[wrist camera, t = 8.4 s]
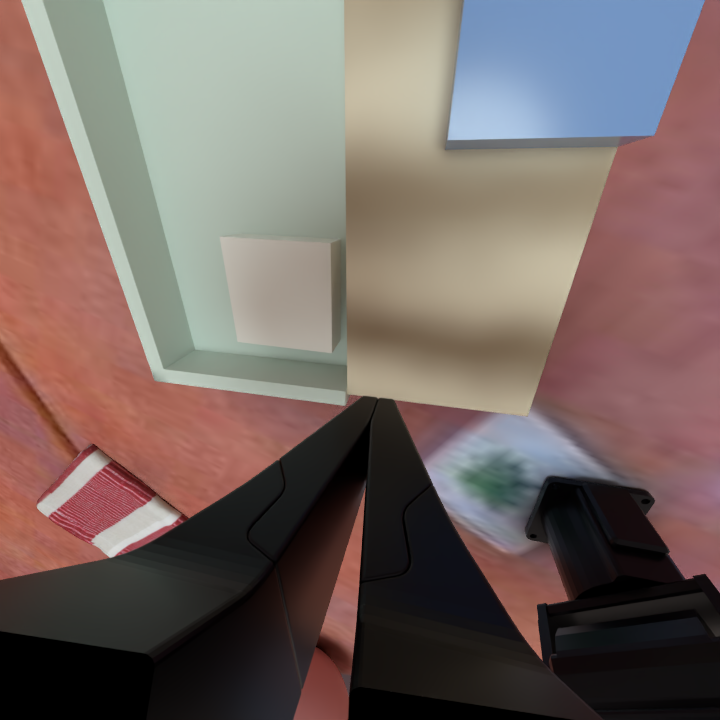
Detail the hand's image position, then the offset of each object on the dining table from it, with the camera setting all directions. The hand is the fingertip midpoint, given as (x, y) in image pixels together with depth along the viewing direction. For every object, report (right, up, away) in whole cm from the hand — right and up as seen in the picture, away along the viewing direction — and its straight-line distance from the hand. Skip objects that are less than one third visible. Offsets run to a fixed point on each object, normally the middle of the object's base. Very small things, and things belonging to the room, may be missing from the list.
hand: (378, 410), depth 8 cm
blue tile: (+6, +12, +1) cm, 13 cm away
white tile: (-5, +6, +10) cm, 12 cm away
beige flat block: (+4, +9, +7) cm, 12 cm away
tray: (-6, +10, +9) cm, 15 cm away
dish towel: (-26, -19, +29) cm, 44 cm away
